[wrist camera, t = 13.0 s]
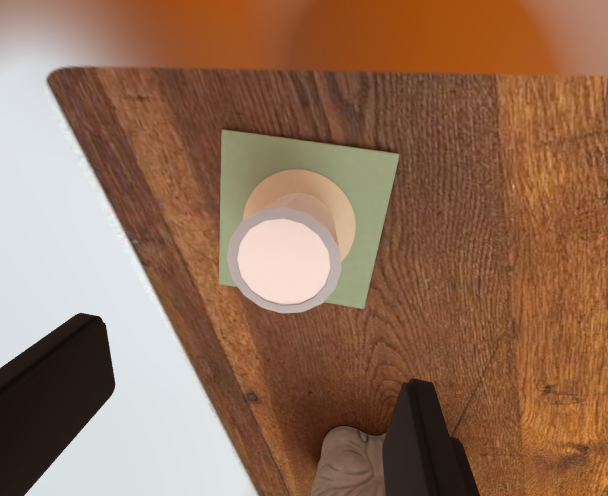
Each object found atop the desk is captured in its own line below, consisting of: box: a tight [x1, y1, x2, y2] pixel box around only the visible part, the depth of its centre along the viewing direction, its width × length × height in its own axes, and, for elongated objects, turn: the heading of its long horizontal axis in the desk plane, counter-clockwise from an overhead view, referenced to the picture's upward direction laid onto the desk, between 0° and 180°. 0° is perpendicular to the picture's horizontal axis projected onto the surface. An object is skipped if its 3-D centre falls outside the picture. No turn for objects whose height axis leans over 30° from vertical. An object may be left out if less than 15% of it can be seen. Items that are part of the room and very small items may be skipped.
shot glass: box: [227, 193, 342, 313], centre depth 21 cm, size 7×7×7 cm
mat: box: [219, 129, 399, 309], centre depth 25 cm, size 13×13×1 cm
